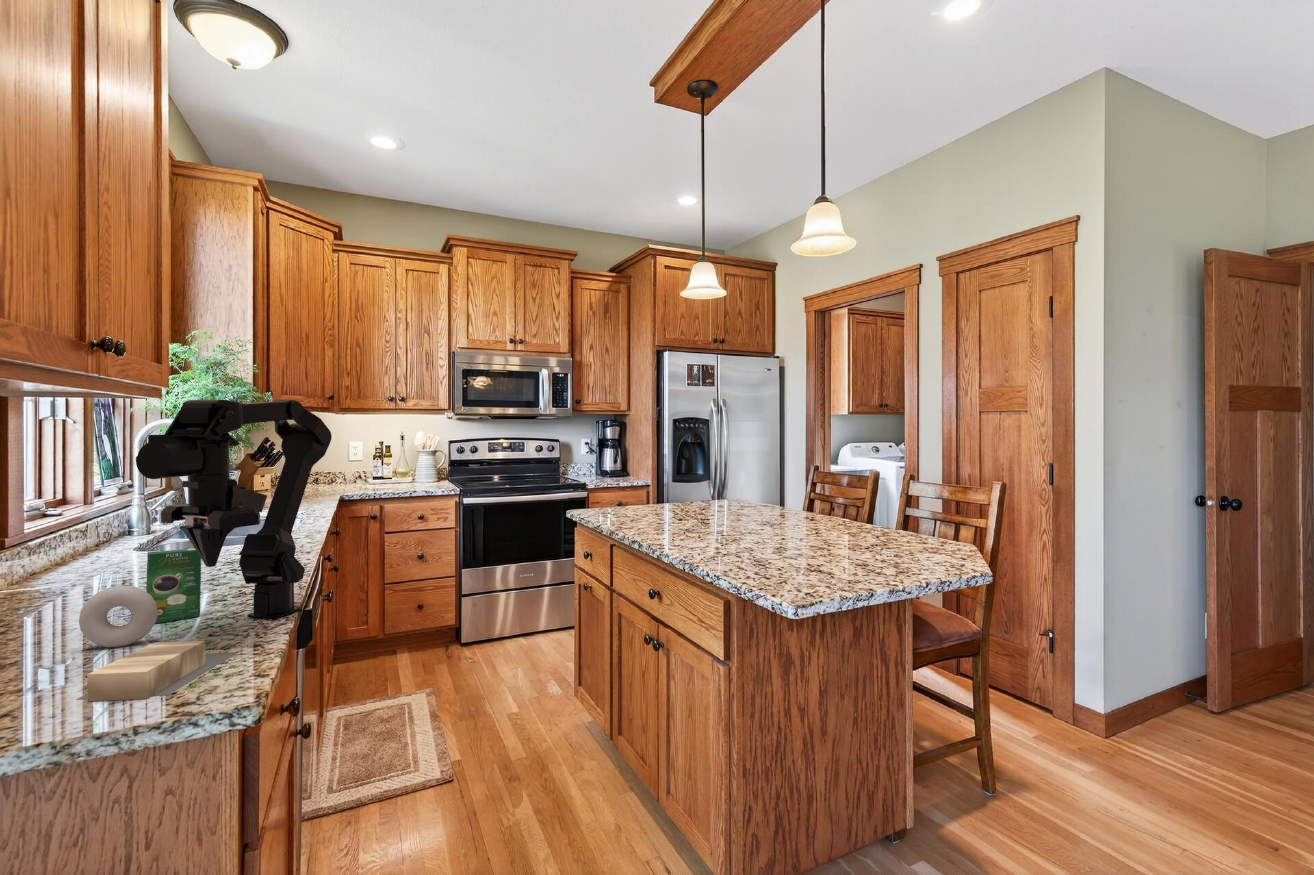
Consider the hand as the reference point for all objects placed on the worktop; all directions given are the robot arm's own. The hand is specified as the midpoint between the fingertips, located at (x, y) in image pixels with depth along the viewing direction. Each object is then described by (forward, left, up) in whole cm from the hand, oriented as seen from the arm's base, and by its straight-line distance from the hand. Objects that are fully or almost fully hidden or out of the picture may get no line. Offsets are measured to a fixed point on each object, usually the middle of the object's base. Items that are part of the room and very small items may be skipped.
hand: (211, 566), depth 102 cm
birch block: (+11, +6, -10) cm, 16 cm away
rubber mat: (+14, +7, -12) cm, 20 cm away
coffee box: (-9, -17, -13) cm, 23 cm away
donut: (+5, -12, -13) cm, 18 cm away
